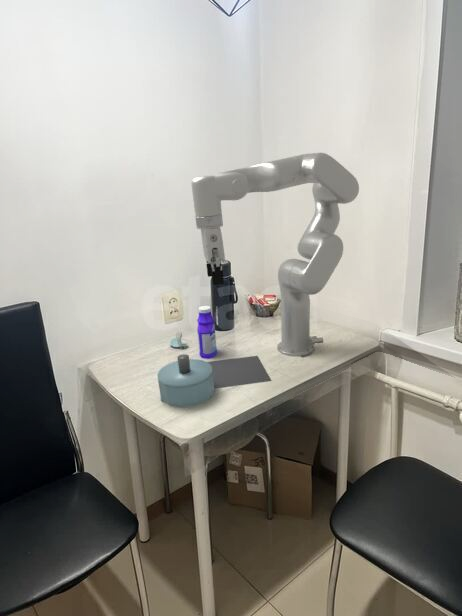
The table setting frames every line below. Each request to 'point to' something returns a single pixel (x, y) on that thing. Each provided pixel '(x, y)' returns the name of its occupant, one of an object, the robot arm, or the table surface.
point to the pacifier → (177, 342)
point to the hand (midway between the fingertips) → (215, 279)
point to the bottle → (206, 333)
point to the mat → (238, 372)
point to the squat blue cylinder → (186, 382)
